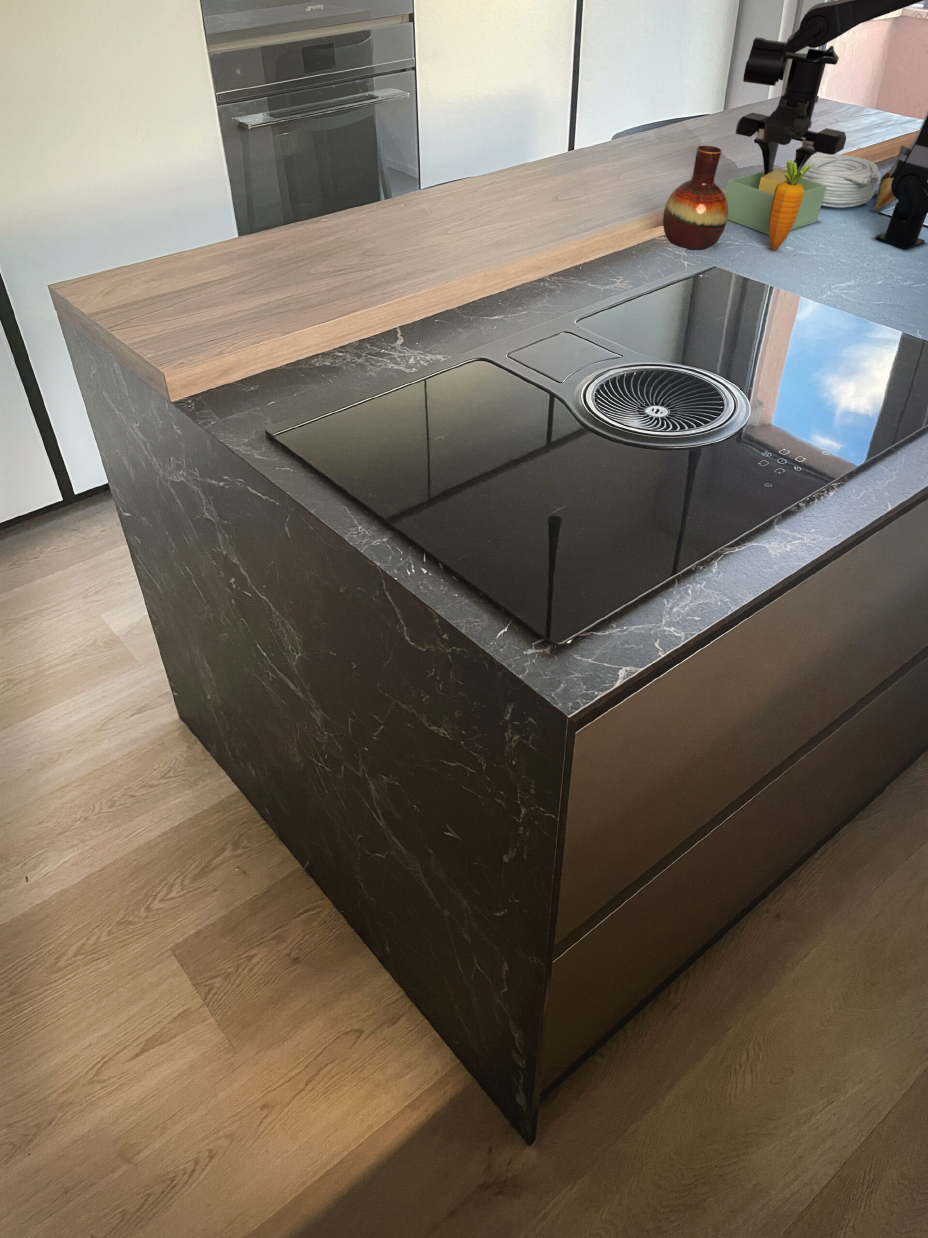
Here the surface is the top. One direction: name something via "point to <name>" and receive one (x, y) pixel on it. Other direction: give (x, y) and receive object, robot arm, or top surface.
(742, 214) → the storage bin
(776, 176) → the butter block
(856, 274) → the top surface
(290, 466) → the top surface
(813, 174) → the cable
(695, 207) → the vase
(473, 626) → the top surface
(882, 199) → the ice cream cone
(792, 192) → the carrot
